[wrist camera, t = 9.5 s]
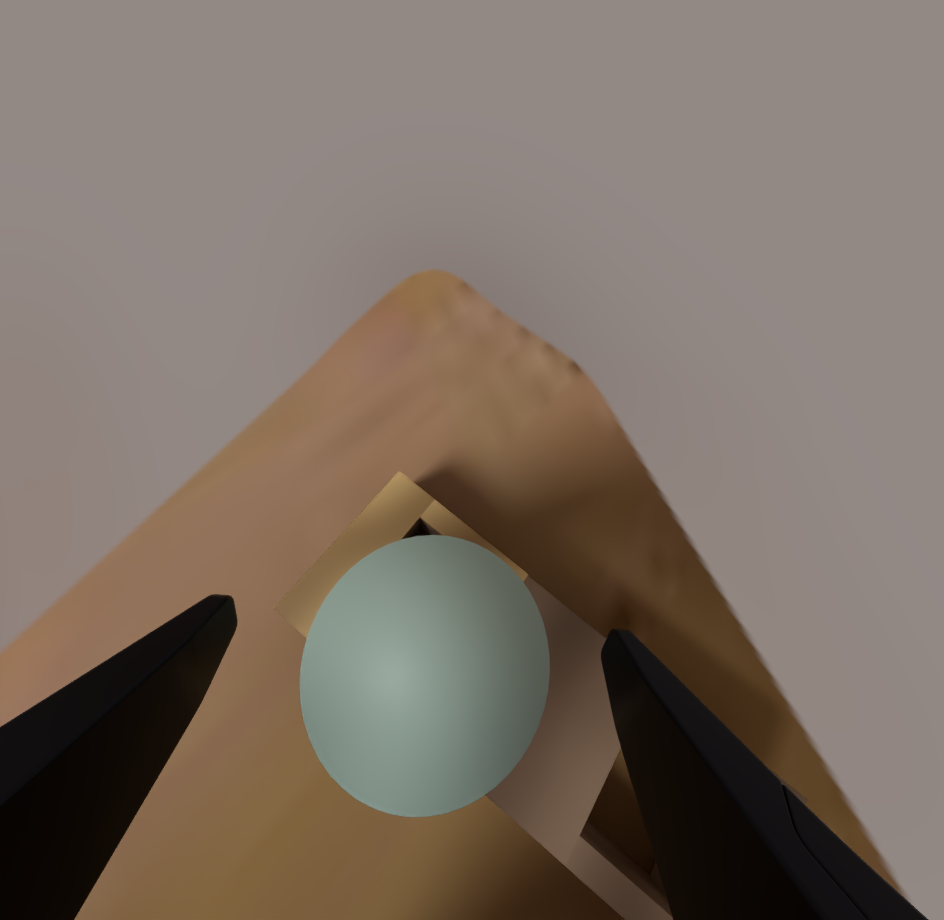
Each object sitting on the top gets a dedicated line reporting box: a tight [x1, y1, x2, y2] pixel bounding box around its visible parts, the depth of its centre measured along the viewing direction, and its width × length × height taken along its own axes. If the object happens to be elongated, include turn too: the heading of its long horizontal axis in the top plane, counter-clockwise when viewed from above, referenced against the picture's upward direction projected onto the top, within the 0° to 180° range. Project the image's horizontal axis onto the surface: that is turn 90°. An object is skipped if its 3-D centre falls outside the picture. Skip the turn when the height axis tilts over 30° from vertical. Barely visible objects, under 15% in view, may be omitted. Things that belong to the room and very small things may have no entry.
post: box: [300, 535, 550, 817], centre depth 11 cm, size 4×4×13 cm
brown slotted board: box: [274, 471, 807, 920], centre depth 15 cm, size 21×7×3 cm, turn 53°
